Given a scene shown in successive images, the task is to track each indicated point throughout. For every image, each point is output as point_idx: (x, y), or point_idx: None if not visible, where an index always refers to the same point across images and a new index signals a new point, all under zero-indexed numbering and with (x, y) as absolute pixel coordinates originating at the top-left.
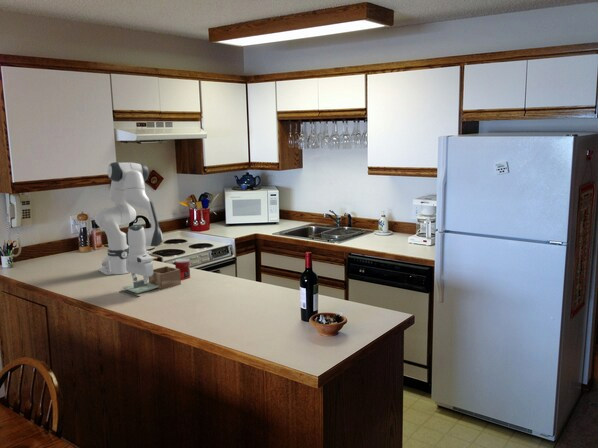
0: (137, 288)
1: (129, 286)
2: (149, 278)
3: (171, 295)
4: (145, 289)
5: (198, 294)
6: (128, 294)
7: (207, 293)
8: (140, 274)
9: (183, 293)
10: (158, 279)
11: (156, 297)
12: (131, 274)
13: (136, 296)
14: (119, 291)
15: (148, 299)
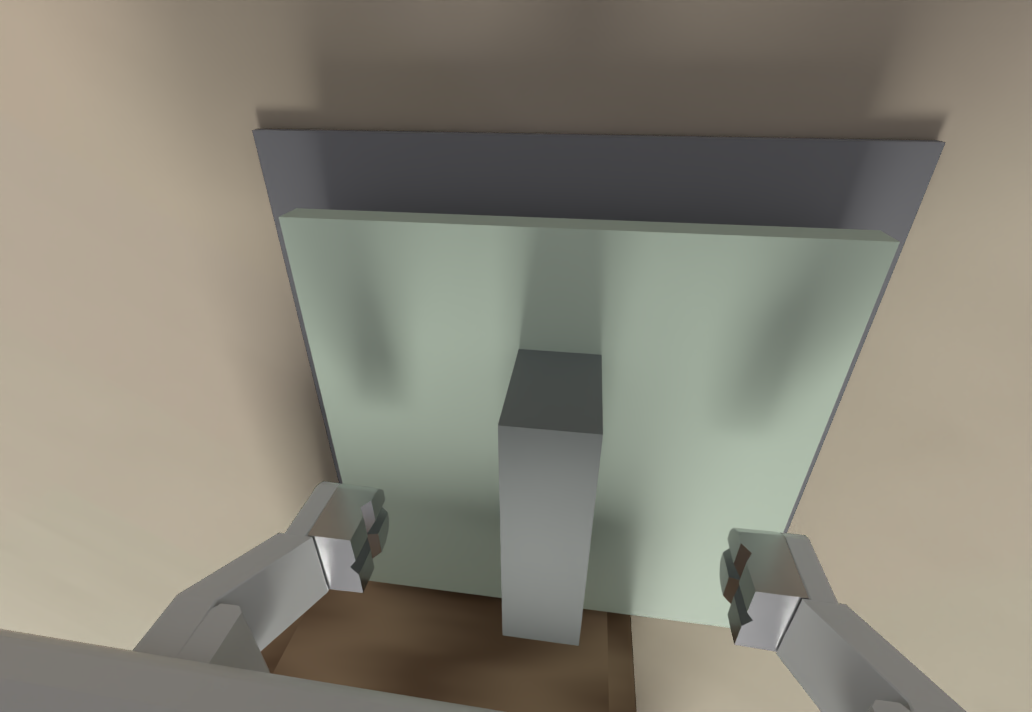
0: (479, 357)
1: (764, 357)
2: (607, 693)
3: (91, 468)
4: (325, 398)
5: (7, 582)
6: (529, 135)
7: (6, 619)
8: (251, 702)
9: (104, 554)
10: (333, 683)
11: (94, 333)
12: (930, 698)
13: (286, 159)
14: (926, 143)
15: (45, 205)
